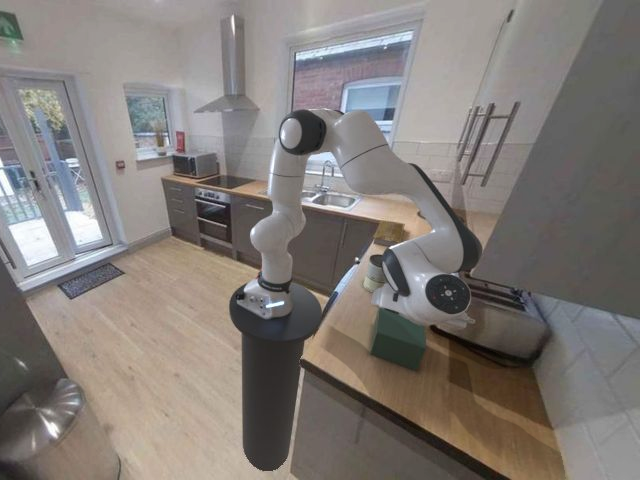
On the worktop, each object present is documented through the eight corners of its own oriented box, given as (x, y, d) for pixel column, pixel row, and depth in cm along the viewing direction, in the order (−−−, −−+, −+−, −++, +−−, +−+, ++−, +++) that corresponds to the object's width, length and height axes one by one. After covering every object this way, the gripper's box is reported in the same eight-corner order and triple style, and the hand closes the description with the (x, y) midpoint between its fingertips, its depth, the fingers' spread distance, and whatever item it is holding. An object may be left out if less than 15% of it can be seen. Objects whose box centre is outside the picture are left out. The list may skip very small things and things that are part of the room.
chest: (373, 326, 92) (378, 307, 88) (413, 339, 86) (421, 319, 83) (370, 354, 81) (376, 333, 77) (416, 371, 76) (425, 350, 72)
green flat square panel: (379, 304, 89) (379, 302, 88) (422, 316, 83) (422, 314, 83) (376, 333, 77) (377, 331, 77) (425, 350, 72) (426, 348, 72)
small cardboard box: (379, 224, 178) (381, 216, 175) (403, 228, 171) (406, 220, 168) (371, 243, 152) (373, 233, 149) (399, 249, 145) (402, 239, 142)
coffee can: (363, 278, 119) (369, 252, 113) (387, 283, 115) (396, 256, 109) (362, 291, 111) (369, 263, 104) (389, 297, 107) (398, 268, 101)
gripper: (480, 307, 56) (455, 314, 68) (378, 281, 65) (371, 291, 77) (477, 335, 54) (452, 338, 66) (373, 304, 63) (367, 311, 75)
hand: (408, 312), depth 72 cm, fingers closed
